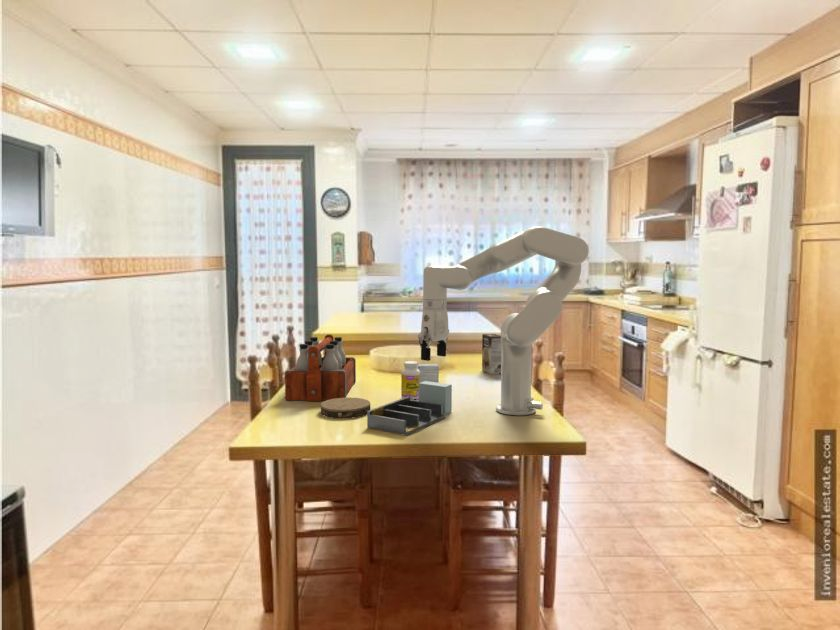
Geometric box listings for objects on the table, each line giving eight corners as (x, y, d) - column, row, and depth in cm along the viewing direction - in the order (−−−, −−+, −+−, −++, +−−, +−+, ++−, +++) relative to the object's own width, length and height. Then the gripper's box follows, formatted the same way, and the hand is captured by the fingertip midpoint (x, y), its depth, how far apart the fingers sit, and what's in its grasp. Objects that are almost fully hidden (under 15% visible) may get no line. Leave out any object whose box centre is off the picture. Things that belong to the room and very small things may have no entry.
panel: (451, 412, 187) (451, 384, 186) (445, 414, 184) (445, 386, 183) (425, 407, 192) (425, 380, 192) (418, 410, 189) (418, 383, 188)
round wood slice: (325, 406, 196) (325, 397, 195) (372, 406, 196) (372, 397, 195) (316, 419, 180) (316, 409, 179) (368, 419, 180) (368, 409, 179)
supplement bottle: (403, 401, 201) (403, 364, 200) (399, 396, 207) (399, 361, 206) (422, 399, 203) (422, 363, 202) (417, 395, 209) (417, 360, 208)
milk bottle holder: (282, 403, 199) (281, 347, 197) (304, 381, 234) (303, 333, 232) (343, 403, 199) (343, 347, 197) (357, 381, 234) (356, 333, 232)
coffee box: (481, 370, 255) (481, 333, 253) (494, 369, 257) (495, 333, 255) (490, 374, 246) (490, 336, 245) (503, 373, 248) (504, 336, 247)
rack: (445, 417, 180) (445, 402, 179) (407, 435, 162) (407, 418, 162) (407, 411, 187) (407, 396, 187) (367, 427, 170) (367, 411, 169)
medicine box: (438, 385, 225) (438, 363, 224) (438, 388, 220) (438, 366, 219) (417, 386, 224) (417, 364, 224) (417, 388, 220) (417, 366, 219)
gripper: (430, 307, 175) (429, 363, 177) (458, 304, 190) (457, 355, 192) (409, 305, 179) (409, 360, 181) (438, 302, 194) (437, 353, 196)
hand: (433, 358), depth 186 cm, fingers open, 9 cm apart
